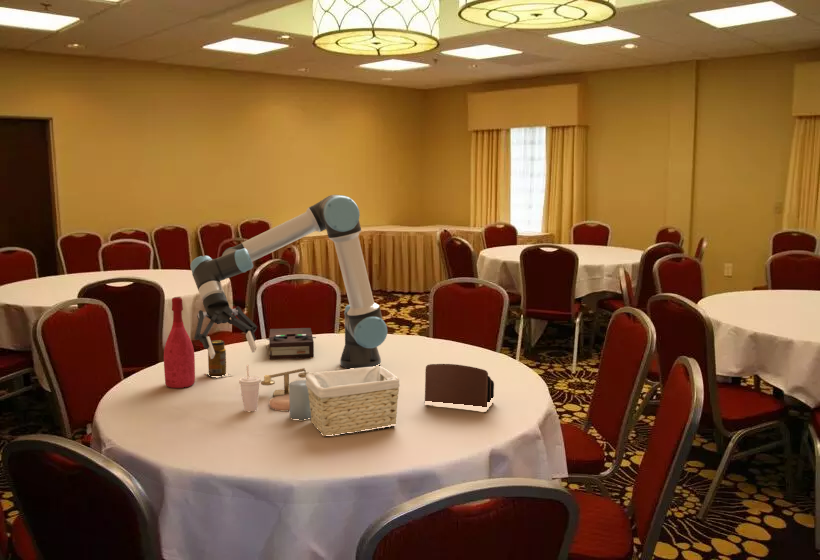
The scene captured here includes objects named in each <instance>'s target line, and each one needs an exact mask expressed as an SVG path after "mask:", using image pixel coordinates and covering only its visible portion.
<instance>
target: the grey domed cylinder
mask: <svg viewBox="0 0 820 560" xmlns="http://www.w3.org/2000/svg"><path fill="white" fill-rule="evenodd" d="M289 406H290V411H289V419H291V418H292V419H291V420H293V419H299V420H302V421H305V420H304V419H308V418H311V412H310V410H311V409H310V401H309V394H308V389H307V386H306V379H303V380H293V381H290V382H289ZM299 420H298V421H299Z"/></svg>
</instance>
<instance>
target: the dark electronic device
mask: <svg viewBox="0 0 820 560" xmlns="http://www.w3.org/2000/svg"><path fill="white" fill-rule="evenodd" d="M316 338H317V337H316V336H313V333H312V328H311V327H300V328H299V327H297V328H296V327H295V328H270V329H269V336H268V338H266V340H268V343H269V346H268V347H269V360H284V359H285V360H287V359H290V360H291V359H311V358H310V357H314V358H315V356H314V355H315V351H314V350H315V348H314V345H315V343H314V339H316Z"/></svg>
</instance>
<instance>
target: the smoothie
mask: <svg viewBox="0 0 820 560" xmlns="http://www.w3.org/2000/svg"><path fill="white" fill-rule="evenodd" d="M249 373H250V367H249V364H247V365H246V376H242V377H240V378H239V379H238V381H239V382H238V384H239V385H240V391H241V397H242V403H243V410H245V411H244V412H246V411H254V412H256V411H257V410H258V403H259V402H258V401H259V390H260V384H261V381H262V380H261V378H260V377H259V376H255V375H254V376H253V375H252V376H251V375H250V374H249ZM255 410H256V411H255Z"/></svg>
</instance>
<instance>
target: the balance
mask: <svg viewBox="0 0 820 560" xmlns="http://www.w3.org/2000/svg"><path fill="white" fill-rule="evenodd" d="M296 373H298V374H297V376H298V378H304V379H306V374H308V373H309V372H308V371H306V368H305V367H303V368H298V369H294V370H288V371H284V372H279V373H274V374H264V377H263V380H261V382H260V385H262V386H273V385H275V383H276V381H275V380H273V379H272V378H277V377H278V378H279V377H282V376H283V384H284V386H283V389H275V390H274V392H273V394H272V398H274V397H277V396H282V395H289V383H290V375H291V374H292V375H293V374H296Z"/></svg>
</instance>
